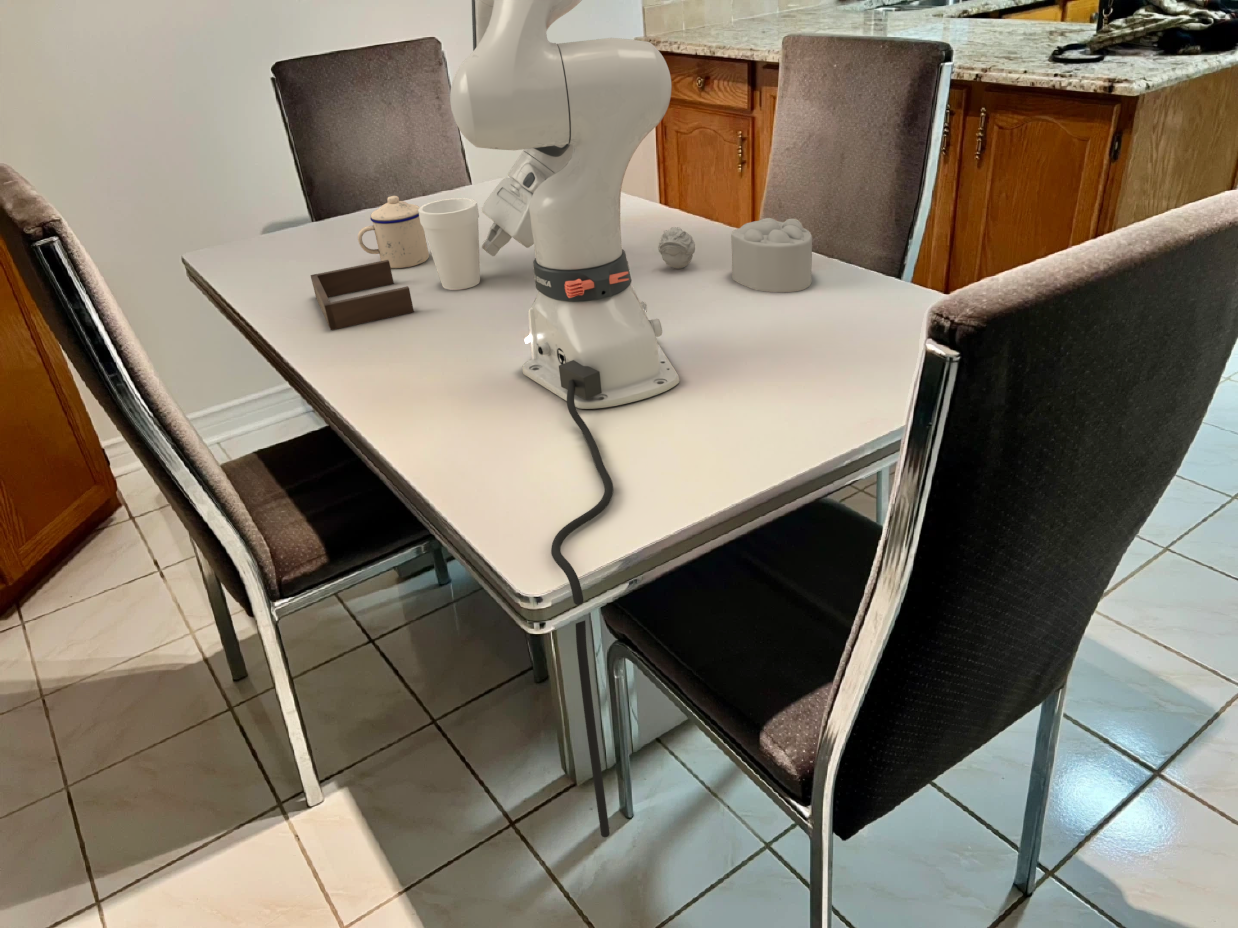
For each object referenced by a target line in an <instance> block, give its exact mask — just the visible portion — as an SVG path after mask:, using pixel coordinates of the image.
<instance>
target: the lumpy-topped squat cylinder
mask: <svg viewBox="0 0 1238 928" xmlns="http://www.w3.org/2000/svg"><path fill="white" fill-rule="evenodd" d="M730 234H731V236H730V240H731V241H730V242H731V243H730V244H731V245H730V246H731V247H730V248H731V278H732V280H733V281H734V282H736V283H738V284H740V285H741V286H744V287H747V288H749V289H751V290H756V291H758V292H759V291H760V292H770V293H794V292H800V291H803V290H806V289H808V288H809V287H810V286H811V284H812V272H813V271H812V269H813V265H812V264H813V235H812V234H811V232H810V230H809V229H806V228H804V227H803V224H802V222H801V221H800V220H798V219H797V218H788V219H786V220H785V221H777V220H776V219H774V218H773V217H765V218H762V219H760V220H755V221H751V222H746V223H744V224H743V225H742V226H740V227H739V228H736V229H734V230H733V231H731V233H730Z"/></svg>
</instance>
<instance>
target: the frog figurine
mask: <svg viewBox="0 0 1238 928" xmlns="http://www.w3.org/2000/svg"><path fill="white" fill-rule="evenodd" d="M657 250H658V253H660V255H661V259H662V260H663V261H664V263H665V264H666V265H667V266H669V267H670V268H672V269H683V268H685V267H687V266H688V265H689V264H690V263H691V261H692V259H693V257H694V256H693V255H694V253H695V251H696V243H695V240H694V239H693V236H692V235H691V234H690V233H689V232H687V231H686V230H683V228H681V227H678V226H677V227H675V226H673V227H672V226H671V227H670V228H669V229H668V230H663V234H662V235H661V237H660V239H659V241H658V246H657Z"/></svg>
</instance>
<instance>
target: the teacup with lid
mask: <svg viewBox="0 0 1238 928" xmlns="http://www.w3.org/2000/svg"><path fill="white" fill-rule="evenodd" d="M420 207H421V206H418V205H416V204H413V203H408V202H406V201H403V200H400V198H399V196H397V195H390V196H387V202H386V203H384V204H383V205H382V206H380V207H379V208H377V209H375V210H373V211H372V213H371V214H370V218H369V219H370V221H371V222H372V225H367V226H364V227H362V228H361V229H360V230H359V231H358V233H357V241H358V245H359V246H360V247H361V249H362V250H363V251H364V252H366V253H368V254H371V255H379V259H380V261H384V260H389V263H390V267H391V269H404V268H411V267H415V266H418V265H421V264H423V263H425V262H426V261H427V260H428V259H429V257H430V253H429V248H428V242H427V238H426V235H425V232H424V229H423V226H422V225H421V223H420V218H419V213H418V209H419V208H420ZM371 231H374V235H375V240H376V244H377V245H376V246H377V248H374V249H373V248H370V247H367V246H366V245H365V243H364V242H363V235H364V234H365V233H367V232H371Z"/></svg>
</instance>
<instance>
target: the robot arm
mask: <svg viewBox="0 0 1238 928" xmlns="http://www.w3.org/2000/svg"><path fill="white" fill-rule="evenodd" d="M582 1H583V0H471V25H472V28H471V29H472V52H471V53H470V54H469V55H468V56H467V57H466V58H465V59H464V60H463V61H462V63H461V64H460V65H459V66H458V68H457V70H456V72H455V73H454V76H453V79H452V82H451V85H450V94H449V103H450V110H451V114H452V117H453V120H454V123H455V124H456V126H457V129H458V130H459V131H460V133H461V134H462V136H463V137H464V138H465V139H466V140H467V141H468V142H469V143H470V144H471V145H473V146H474V147H475V148H479V149H487V150H497V151H498V150H501V151H522V152H521V153H520V155H519V156H518V158H517V159H516V161H514V163H513V164H512V166H511V168H510V170H509V171H508V173H507V177H504V178H502V180H501V181H499V182H498V183H497V185H496V186H495V188H494V189H493V190H492V191H491V193H490V194H489V195H488V197H487V198H486V200H485V201H484V202H483V203H482V207H481V213H482V214H484V215H485V216H486V217H487V218H489V220H491V221H492V222H493V223H492V224H491V225H490V227H489V230H488V233H487V236H486V239H485V240H484V242H483V243H482V244H481V248H482V249H483V250H484V251H485V252H486V253H487V254H488V255H490V256H492V257H495V256H496V255H497V254H498V252H499V251H500V249H502V248H503V247H505V245H508V243H509V242H510V241H511V239H514V240H515V241H516V242H518V243H519V244H521V245H522V246H524V247H525V248H527V249H528V248H530V247H532V246H533V248H534V255H535V258H534V259H533V261H532V262H533V263H532V266H533V270H532V274H533V279H534V282H535V288H536V290H537V294H536V297H535V299H534V301H533V303H532V305H530V307H529V309H528V312H527V313H528V326H529V327H528V328H529V335H528V336H526V337H525V338H524V343H525V344H529V343H530V350H531V358H530V359H528V360H527V361H526V362H524V363H523V365H522V374H523V375H524V376H526V377H527V378H529V379H531V380H532V381H534V382H535V383H537V384H539V385H540V386H541V387H543V388H545V389H546V390H548V391H549V392H551V393H553V394H554V395H556V396H557V397H559V398H560V399H562V400H564V401H565V402H566V406H567V409H568V413H569V415H570V416H571V419H572V420H573V421H574V422H575V424H576V425H577V427H578V428H579V430H580V431H581V433H582V435H583V437H584V439H585V441H586V443H587V446H588V448H589V450H590V454H591V456H592V460H593V463H594V465H595V466H594V467H595V468H596V470H597V472H598V474H599V476H600V478H601V481H602V483H603V486H604V492H603V495H602V497H601V499H600V500H599V502H597V504H595V505H594V506H593V507H592V508H590V509H589V510H587V511H586V512H584V513H583V514H581V515H580V516H577V518H575V519H573V520H572V521H570V522H568V523H567V524H566V525H565V526H563V527H562V528H561V529H560V530H559V531H557V534H555V536H554V538H553V540H552V544H551V547H550V548H551V550H550V554H551V557H552V559H553V560H554V562H555V563H556V565H557V566H558V567H559V569H561V570H562V572H563V574H564V575H565V577H566V578H567V580H568V583H569V586H570V590H571V594H572V599H573V604H575V605H576V606H577V605H578V606H579V605H582V604H583V603H584V595H583V590H582V585H581V583H580V579H579V577H578V574H577V572H576V571H575V568H574V567H573V565H572V564H571V563H570V562H569V561H568V560H567V558H566V557H565V556H564V555H563V554H562V550H561V549H562V545H563V543H564V542H565V540H566V538H567V537H568V536H569V535H570V534H571V533H573V532H574V531H576V530H577V529H579V528H580V527H582V526H583V525H585V524H586V523H588V522H590V521H591V520H593V519H595V518H596V517H597V516H598V515H600V514H601V513H602V512H603V511H605V510H606V508H607V507H608V506H609V504H610V503H611V501H612V498H613V493H614V483H613V480H612V478H611V476H610V474H609V472H608V470H607V468H606V466H605V464H604V462H603V459H602V456H601V453H600V449H599V446H598V445H597V443H596V441H595V438H594V436H593V433H592V432H591V431H590V429H589V427H588V426H587V424H586V422H585V421H584V419H583V418H582V417H581V415H580V413H579V412H578V409H580V410H582V409H583V410H587V409H589V410H591V409H592V410H593V409H594V410H595V409H605V408H611V407H617V406H621V405H626V404H630V403H634V402H638V401H642V400H645V399H649V398H652V397H655V396H657V395H660V394H663V393H665V392H667V391H669V390H671V389H673V388H674V387H675V386H677V385H679V383H680V376H679V374H678V372H677V371H676V369H675V367H674V366H673V364H672V363H671V360H669V358H668V357H667V355H666V353H665V351H664V350H663V349H662V348H661V346H660V344H659V343H658V341H657V338H659V337H661V336H662V335H663V326H662V323H661V320H660V319H659V318H653V319H649V317H648V315H647V312H648V304H647V302H646V301H640V299H639V297H638V294H637V293H636V291H635V289H634V288H635V287H634V285H632V277H631V271H630V269H631V268H630V264H629V261H628V258H627V254H626V251H625V250H624V249H623V243H622V227H621V226H622V225H621V224H622V223H621V197H622V196H621V195H622V188H623V183H624V182H623V181H624V179H625V175H626V172H627V169H628V166H629V164H630V162H631V160H632V158H633V156H634V154H635V152H636V151H637V149H638V147H639V146H640V145H641V143H642V142H643V140H645V138H646V137H647V136H648V135H649V134H650V133H651V132H652V131H653V130H654V129H655V128H656V127H657V126H658V125H660V123H661V122H662V120H663V119H664V117H665V116H666V113H667V111H668V108H669V105H670V101H671V97H672V77H671V73H670V70H669V69H670V68H669V67H668V64H667V61H666V59H665V58H664V56H663V55H662V53H661V52H660V51H659V49H658V48H657V47H656V46H655V45H654V44H653V43H652V42H650V41H646V40H638V39H631V38H619V37H606V38H597V39H588V40H579V41H570V42H561V43H556V42H551V41H549V39H548V35H547V34H548V33H547V32H548V30H549V28H550V27H551V25H553V23H555V22H556V21H558V20H559V19H560V18H561V17H563V16H564V15H566V14H567V13H569V12H571V11H572V10H573V9H574V8H576V7H577V6H578V5H579V4H580V3H581V2H582ZM586 626H587V625H586V619H584V620H581V621H578V622H576V623H575V641H576V642H575V643H576V651H577V654H576V655H577V662H578V663H577V664H578V672H579V681H580V690H581V696H582V707H583V714H584V722H585V729H586V735H587V743H588V751H589V758H590V765H591V772H592V781H593V786H594V793H595V800H596V808H597V815H598V823H599V829H600V831H599V832H600V835H601V837H602V838H609V836H610V825H609V824H610V823H609V817H608V809H607V801H606V794H605V787H604V786H605V785H604V779H603V771H602V764H601V757H600V748H599V742H598V741H599V740H598V735H597V734H598V733H597V727H596V717H595V710H594V701H593V693H592V684H591V683H592V682H591V676H590V675H591V674H590V668H589V667H590V666H589V657H588V648H587V647H588V646H587V629H586V628H587V627H586Z"/></svg>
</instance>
